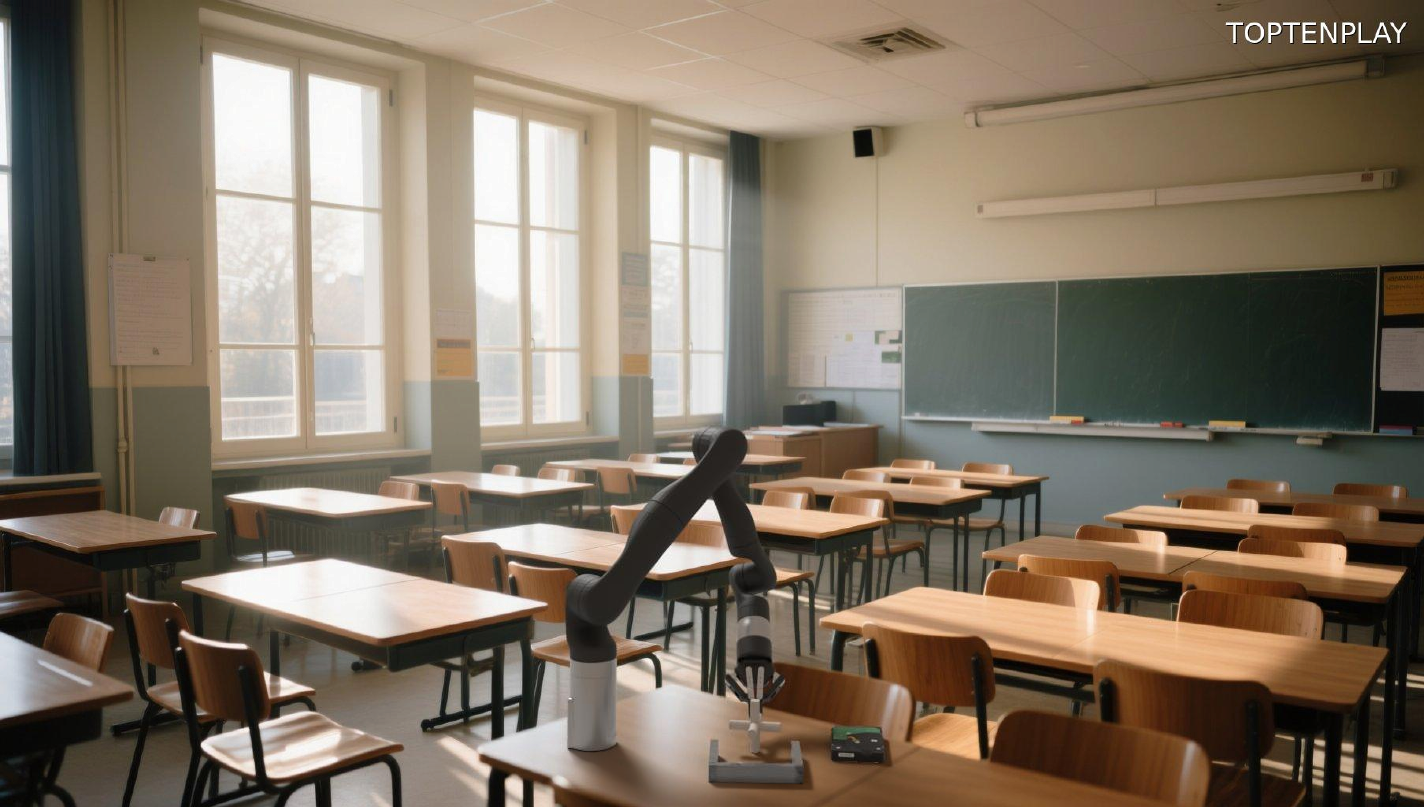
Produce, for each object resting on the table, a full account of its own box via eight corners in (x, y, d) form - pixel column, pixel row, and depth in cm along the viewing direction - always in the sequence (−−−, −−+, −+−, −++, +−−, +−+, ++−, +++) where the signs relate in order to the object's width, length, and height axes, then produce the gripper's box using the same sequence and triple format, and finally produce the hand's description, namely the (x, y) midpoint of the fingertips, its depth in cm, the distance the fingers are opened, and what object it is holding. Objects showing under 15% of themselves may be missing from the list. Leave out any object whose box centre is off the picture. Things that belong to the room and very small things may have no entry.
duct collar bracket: (708, 781, 181) (708, 765, 181) (710, 755, 195) (710, 739, 195) (803, 783, 181) (803, 767, 181) (798, 756, 194) (799, 741, 194)
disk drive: (886, 767, 191) (881, 739, 206) (886, 752, 191) (881, 725, 206) (830, 764, 192) (830, 737, 207) (830, 750, 192) (830, 723, 207)
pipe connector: (782, 743, 201) (783, 693, 201) (778, 762, 191) (778, 710, 191) (733, 740, 203) (733, 691, 203) (725, 759, 193) (725, 707, 193)
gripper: (722, 633, 212) (722, 711, 200) (786, 633, 212) (789, 711, 200) (722, 652, 217) (722, 728, 205) (784, 652, 217) (787, 728, 205)
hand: (755, 719), depth 203 cm, fingers closed
